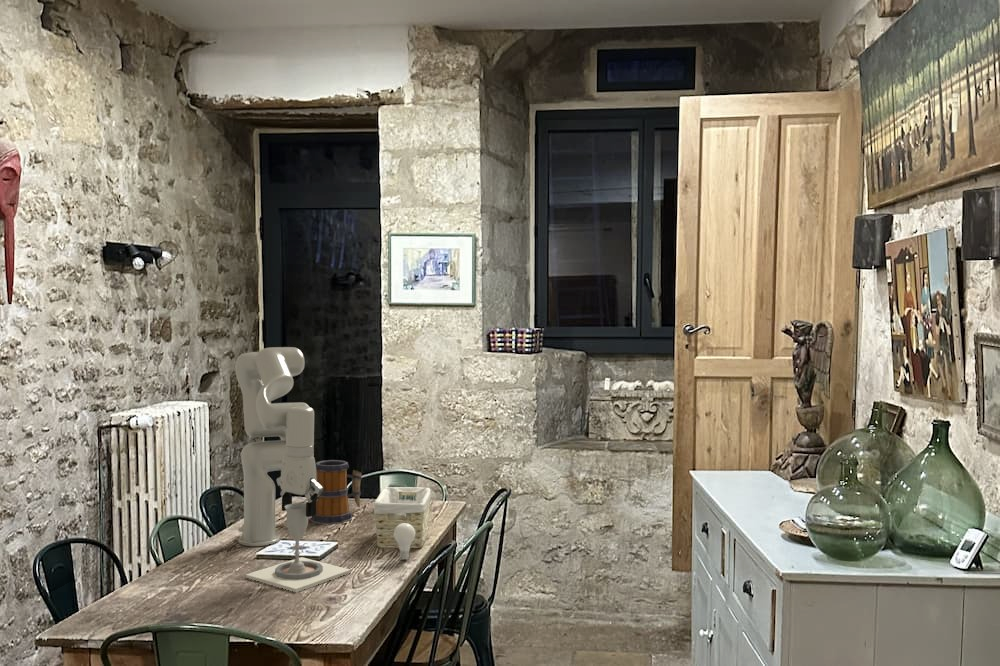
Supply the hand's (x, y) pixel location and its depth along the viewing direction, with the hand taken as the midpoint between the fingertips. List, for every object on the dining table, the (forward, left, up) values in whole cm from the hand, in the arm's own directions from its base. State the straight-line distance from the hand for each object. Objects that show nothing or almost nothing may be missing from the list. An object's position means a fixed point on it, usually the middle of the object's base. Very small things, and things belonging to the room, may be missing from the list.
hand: (298, 512), depth 227 cm
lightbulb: (+15, +28, -18) cm, 36 cm away
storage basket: (-1, +45, -18) cm, 48 cm away
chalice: (0, 0, -16) cm, 16 cm away
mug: (-37, +52, -18) cm, 66 cm away
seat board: (+1, 0, -17) cm, 17 cm away
